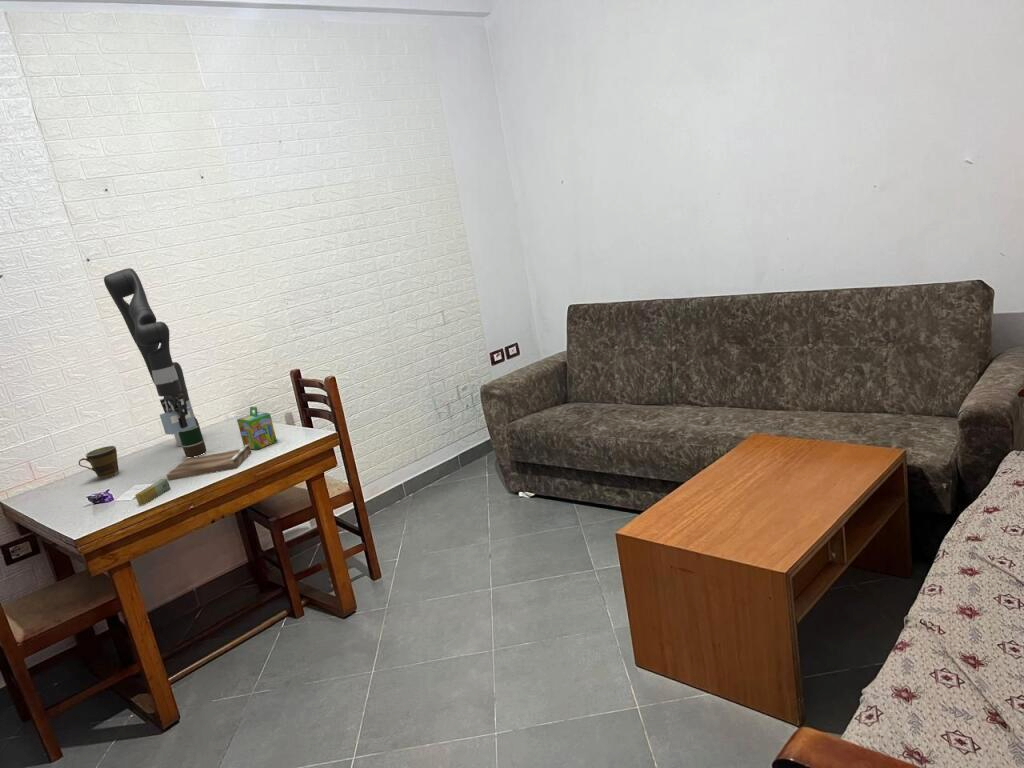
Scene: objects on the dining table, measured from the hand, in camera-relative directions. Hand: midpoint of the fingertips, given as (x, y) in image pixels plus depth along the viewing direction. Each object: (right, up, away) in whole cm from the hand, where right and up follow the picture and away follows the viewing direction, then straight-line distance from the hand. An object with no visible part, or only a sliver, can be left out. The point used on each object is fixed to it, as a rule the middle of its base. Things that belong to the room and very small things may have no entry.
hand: (180, 426), depth 255 cm
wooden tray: (+9, -14, +4) cm, 17 cm away
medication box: (0, -22, -19) cm, 29 cm away
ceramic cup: (-34, -20, +14) cm, 42 cm away
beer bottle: (-4, -12, +22) cm, 26 cm away
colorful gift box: (+22, -8, +19) cm, 30 cm away
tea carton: (0, -1, 0) cm, 1 cm away
